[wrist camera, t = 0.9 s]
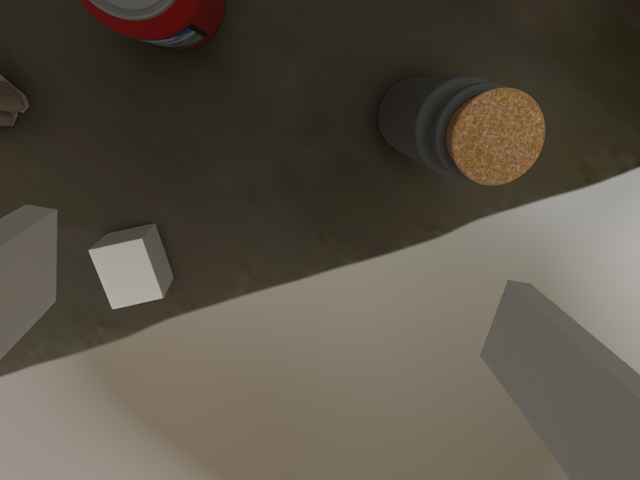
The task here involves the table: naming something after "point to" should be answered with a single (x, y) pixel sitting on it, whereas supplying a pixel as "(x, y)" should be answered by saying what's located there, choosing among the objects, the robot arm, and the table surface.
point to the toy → (10, 102)
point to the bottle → (463, 127)
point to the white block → (132, 266)
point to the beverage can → (160, 19)
